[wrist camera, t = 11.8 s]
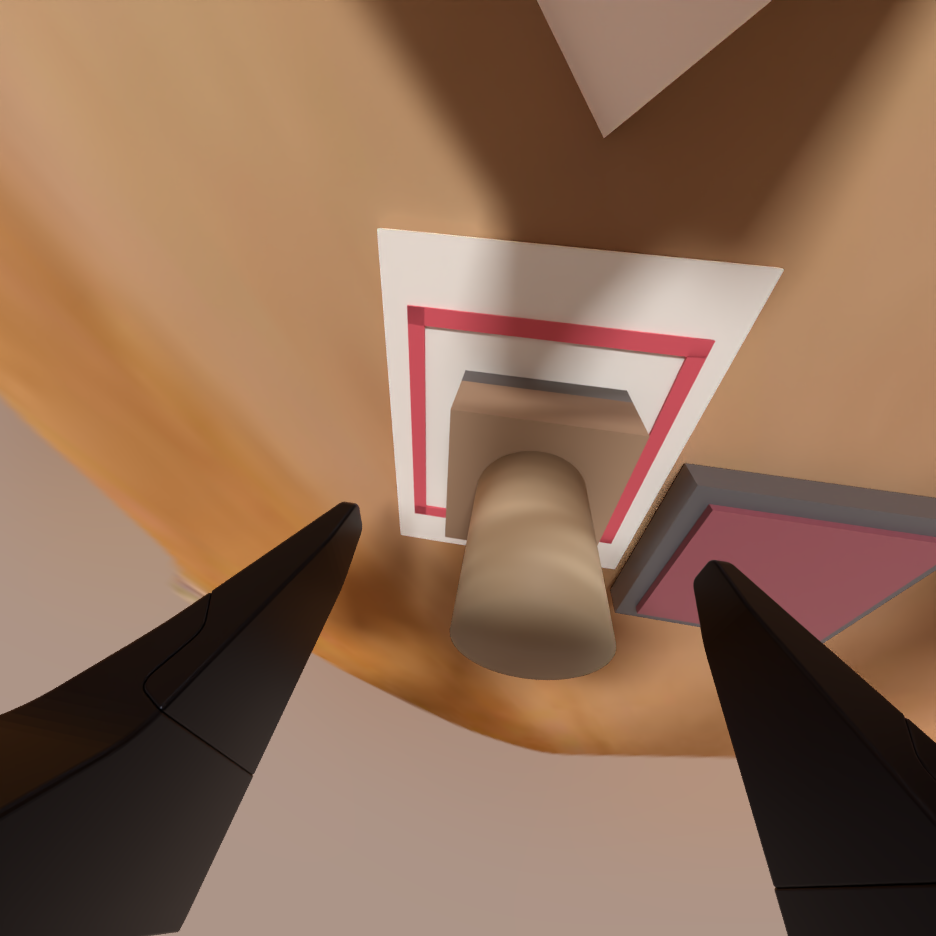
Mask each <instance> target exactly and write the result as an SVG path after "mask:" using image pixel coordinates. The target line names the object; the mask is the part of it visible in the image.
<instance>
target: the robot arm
mask: <svg viewBox="0 0 936 936" xmlns="http://www.w3.org/2000/svg"><path fill="white" fill-rule="evenodd" d="M361 531H362V521H361V515H360V510H359V506H358V505H357V504H355V503H349V502H341V503H339V504H338V505H336V506H335V507H333V508H332V509H331V510H329V511H328V512H326V513H325V514H323V515H322V516H320V517H319V518H317V519H316V520H315V521H313V522H312V523H310V524H309V525H307V526H306V527H304V528H303V529H301V530H300V531H298V532H297V533H296V534H294V535H293V536H291V537H290V538H288V539H287V540H285V541H284V542H282V543H281V544H280V545H278V546H277V547H275V548H274V549H272V550H271V551H269V552H268V553H266V554H265V555H263V556H262V557H261V558H259V559H258V560H256V561H255V562H253V563H252V564H250V565H249V566H247V567H246V568H245V569H243V570H242V571H240V572H239V573H237V574H236V575H234V576H233V577H231V578H230V579H228V580H227V581H226V582H224V583H223V584H221V585H220V586H218V587H217V588H215V589H214V590H213V591H212V593H208V594H206V595H205V596H203V597H202V598H201V599H199V600H198V601H196V602H195V603H193V604H192V605H190V606H189V607H187V608H186V609H184V610H183V611H181V612H180V613H178V614H177V615H175V616H174V617H172V618H171V619H169V620H168V621H166V622H165V623H163V624H161V625H160V626H158V627H157V628H155V629H153V630H152V631H150V632H148V633H147V634H145V635H143V636H142V637H140V638H139V639H137V640H135V641H134V642H132V643H131V644H129V645H127V646H125V647H124V648H122V649H120V650H119V651H117V652H115V653H114V654H112V655H110V656H108V657H107V658H105V659H103V660H102V661H100V662H98V663H97V664H95V665H93V666H92V667H90V668H88V669H87V670H85V671H83V672H82V673H80V674H78V675H77V676H75V677H73V678H72V679H70V680H68V681H66V682H65V683H63V684H61V685H60V686H58V687H56V688H55V689H53V690H51V691H49V692H48V693H46V694H44V695H42V696H40V697H38V698H36V699H35V700H33V701H30V702H28V703H26V704H24V705H22V706H20V707H18V708H15V709H13V710H11V711H9V712H6V713H4V714H1V715H0V936H151V935H159V934H166V933H174V932H178V931H179V930H180V928H181V926H182V924H183V923H184V921H185V919H186V917H187V914H188V912H189V910H190V908H191V906H192V904H193V902H194V900H195V898H196V896H197V894H198V892H199V889H200V887H201V885H202V883H203V881H204V879H205V877H206V875H207V872H208V870H209V868H210V866H211V864H212V862H213V860H214V858H215V856H216V853H217V851H218V849H219V847H220V845H221V843H222V841H223V838H224V837H225V834H226V832H227V830H228V828H229V826H230V824H231V822H232V820H233V817H234V815H235V813H236V811H237V809H238V807H239V805H240V802H241V801H242V799H243V796H244V794H245V792H246V790H247V788H248V786H249V784H250V782H251V779H252V777H253V775H252V774H254V773H255V771H256V768H257V766H258V764H259V762H260V760H261V758H262V756H263V754H264V752H265V749H266V747H267V745H268V743H269V741H270V739H271V736H272V735H273V733H274V730H275V728H276V726H277V724H278V722H279V720H280V718H281V716H282V714H283V711H284V709H285V707H286V705H287V703H288V701H289V699H290V697H291V694H292V692H293V690H294V688H295V686H296V684H297V682H298V680H299V678H300V675H301V673H302V671H303V669H304V667H305V665H306V663H307V660H308V658H309V656H310V654H311V652H312V650H313V648H314V646H315V644H316V642H317V640H318V637H319V635H320V633H321V631H322V629H323V627H324V625H325V623H326V621H327V618H328V616H329V614H330V612H331V610H332V608H333V606H334V604H335V602H336V599H337V597H338V595H339V593H340V591H341V588H342V586H343V584H344V581H345V578H346V576H347V573H348V570H349V567H350V564H351V561H352V558H353V555H354V552H355V549H356V546H357V544H358V541H359V538H360V535H361ZM693 589H694V594H695V600H696V606H697V611H698V617H699V622H700V628H701V634H702V639H703V644H704V648H705V652H706V656H707V659H708V663H709V666H710V669H711V673H712V676H713V680H714V683H715V687H716V690H717V693H718V697H719V700H720V704H721V707H722V711H723V714H724V717H725V721H726V724H727V728H728V731H729V734H730V738H731V741H732V745H733V748H734V752H735V755H736V758H737V762H738V765H739V769H740V772H741V776H742V779H743V782H744V785H745V789H746V793H747V796H748V799H749V802H750V806H751V810H752V813H753V816H754V820H755V823H756V826H757V830H758V833H759V837H760V841H761V844H762V847H763V851H764V854H765V857H766V861H767V864H768V868H769V871H770V875H771V878H772V881H773V885H774V886H775V887H776V888H775V893H776V896H777V900H778V903H779V907H780V910H781V913H782V917H783V920H784V924H785V927H786V931H787V934H788V936H936V743H935V742H934V741H933V740H932V739H931V738H930V737H928V736H927V735H926V734H925V733H924V732H923V731H922V730H920V729H919V728H918V727H917V726H916V725H915V724H914V723H913V722H911V721H910V720H909V719H907V718H905V717H904V715H903V714H902V713H901V712H900V711H899V710H898V709H897V708H895V707H894V706H893V705H892V704H891V703H890V702H889V701H887V700H886V699H885V698H884V697H883V696H882V695H881V694H879V693H878V692H877V691H876V690H875V689H874V688H873V687H872V686H870V685H869V684H868V683H867V682H866V681H865V680H864V679H862V678H861V677H860V676H859V675H858V674H857V673H856V672H855V671H853V670H852V669H851V668H850V667H849V666H848V665H847V664H845V663H844V662H843V661H842V660H841V659H840V658H839V657H838V656H836V655H835V654H834V653H833V652H832V651H831V650H830V649H828V648H827V647H826V646H825V645H824V644H823V643H822V642H820V641H819V640H818V639H817V638H816V637H815V636H814V635H813V634H811V633H810V632H809V631H808V630H807V629H806V628H805V627H803V626H802V625H801V624H800V623H799V622H798V621H797V620H796V619H794V618H793V617H792V616H791V615H790V614H789V613H788V612H786V611H785V610H784V609H783V608H782V607H781V606H780V605H779V604H777V603H776V602H775V601H774V600H773V599H772V598H771V597H769V596H768V595H767V594H766V593H765V592H764V591H763V590H761V589H760V588H759V587H758V586H757V585H756V584H755V583H754V582H752V581H751V580H750V579H749V578H748V577H747V576H746V575H744V574H743V573H742V572H741V571H740V570H739V569H738V568H737V567H735V566H734V565H733V564H731V563H729V562H726V561H720V560H710V561H709V562H708V563H707V564H706V565H705V566H704V567H703V569H702V570H701V571H700V572H699V573H698V575H697V576H696V577H695V579H694V582H693Z"/></svg>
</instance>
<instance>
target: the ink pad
mask: <svg viewBox="0 0 936 936" xmlns="http://www.w3.org/2000/svg"><path fill="white" fill-rule="evenodd" d="M710 560H720V561H726V562H729V563H731V564H733V565H734V566H735V567H737V568H738V569H739V570H740V571H741V572H742V573H743V574H744V575H746V576H747V577H748V578H749V579H750V580H751V581H752V582H754V583H755V584H756V585H757V586H758V587H759V588H760V589H761V590H763V591H764V592H765V593H766V594H767V595H768V596H769V597H771V598H772V599H773V600H774V601H775V602H776V603H777V604H779V605H780V606H781V607H782V608H783V609H784V610H785V611H786V612H788V613H789V614H790V615H791V616H792V617H793V618H794V619H796V620H797V621H798V622H799V623H800V624H801V625H802V626H803V627H805V628H806V629H807V630H808V631H809V632H810V633H811V634H813V635H814V636H815V637H816V638H817V639H818V640H819V641H820V642H822V643H824V642H826V641H827V640H829V639H830V638H832V637H833V636H835V635H837V634H838V633H840V632H841V631H843V630H844V629H846V628H847V627H849V626H850V625H852V624H854V623H855V622H857V621H858V620H860V619H861V618H863V617H864V616H866V615H867V614H869V613H871V612H872V611H874V610H875V609H877V608H878V607H880V606H881V605H883V604H884V603H886V602H887V601H889V600H891V599H892V598H894V597H895V596H897V595H898V594H900V593H901V592H903V591H904V590H906V589H908V588H909V587H911V586H912V585H914V584H915V583H917V582H918V581H920V580H921V579H923V578H925V577H926V576H928V575H929V574H931V573H932V572H934V571H935V570H936V498H932V497H924V496H917V495H910V494H903V493H896V492H888V491H881V490H874V489H867V488H860V487H852V486H845V485H838V484H831V483H824V482H816V481H809V480H802V479H795V478H788V477H780V476H773V475H766V474H759V473H752V472H744V471H737V470H730V469H723V468H716V467H708V466H701V465H694V464H687V463H685V464H684V466H683V467H682V469H681V471H680V472H679V474H678V476H677V478H676V479H675V481H674V483H673V484H672V486H671V488H670V489H669V491H668V493H667V495H666V496H665V498H664V500H663V501H662V503H661V505H660V506H659V508H658V510H657V512H656V513H655V515H654V517H653V518H652V520H651V522H650V523H649V525H648V527H647V529H646V530H645V532H644V534H643V535H642V537H641V539H640V540H639V542H638V544H637V546H636V547H635V549H634V551H633V552H632V554H631V556H630V557H629V559H628V561H627V563H626V564H625V566H624V568H623V569H622V571H621V573H620V574H619V576H618V578H617V580H616V581H615V583H614V585H613V586H612V588H611V590H610V591H611V596H612V601H613V605H614V610H615V613H620V614H626V615H632V616H638V617H644V618H650V619H655V620H661V621H667V622H673V623H679V624H685V625H691V626H697V627H700V622H699V617H698V611H697V606H696V600H695V594H694V589H693V582H694V579H695V577H696V576H697V575H698V573H699V572H700V571H701V570H702V569H703V567H704V566H705V565H706V564H707V563H708V562H709V561H710Z"/></svg>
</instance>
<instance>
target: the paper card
mask: <svg viewBox="0 0 936 936" xmlns="http://www.w3.org/2000/svg"><path fill="white" fill-rule="evenodd" d="M377 235H378V248H379V261H380V273H381V286H382V299H383V312H384V325H385V338H386V351H387V364H388V376H389V389H390V402H391V415H392V428H393V441H394V454H395V467H396V480H397V492H398V505H399V518H400V531H401V535H404V536H411V537H417V538H423V539H429V540H435V541H442V542H448V543H454V544H460V545H466V542H467V540H461V539H455V538H449V537H445V524H446V501H447V478H448V456H449V433H450V410H451V407H452V404H453V402H454V399H455V396H456V394H457V391H458V389H459V386H460V383H461V381H462V378H463V376H464V373H465V370H468V371H476V372H484V373H492V374H500V375H508V376H516V377H524V378H532V379H540V380H548V381H556V382H563V383H571V384H579V385H587V386H595V387H603V388H611V389H619V390H627V392H628V394H629V396H630V398H631V400H632V402H633V404H634V406H635V408H636V410H637V412H638V414H639V416H640V418H641V420H642V422H643V424H644V426H645V428H646V430H647V432H648V434H649V436H650V437H649V439H648V441H647V443H646V445H645V447H644V449H643V451H642V453H641V456H640V458H639V460H638V462H637V464H636V466H635V468H634V470H633V472H632V474H631V476H630V479H629V481H628V483H627V485H626V487H625V489H624V491H623V493H622V495H621V497H620V500H619V502H618V504H617V506H616V508H615V510H614V512H613V514H612V516H611V518H610V520H609V523H608V525H607V527H606V529H605V531H604V533H603V535H602V537H601V539H600V541H599V543H598V546H597V547H598V552H599V557H600V562H601V567H603V568H609V569H615V568H616V566H617V565H618V563H619V561H620V559H621V558H622V556H623V554H624V552H625V551H626V549H627V547H628V545H629V543H630V542H631V540H632V538H633V536H634V535H635V533H636V531H637V529H638V528H639V526H640V524H641V522H642V520H643V519H644V517H645V515H646V513H647V512H648V510H649V508H650V506H651V505H652V503H653V501H654V499H655V497H656V496H657V494H658V492H659V490H660V489H661V487H662V485H663V483H664V481H665V480H666V478H667V476H668V474H669V473H670V471H671V469H672V467H673V466H674V464H675V462H676V460H677V458H678V457H679V455H680V453H681V451H682V450H683V448H684V446H685V444H686V443H687V441H688V439H689V437H690V435H691V434H692V432H693V430H694V428H695V427H696V425H697V423H698V421H699V420H700V418H701V416H702V414H703V412H704V411H705V409H706V407H707V405H708V404H709V402H710V400H711V398H712V396H713V395H714V393H715V391H716V389H717V388H718V386H719V384H720V382H721V381H722V379H723V377H724V375H725V373H726V372H727V370H728V368H729V366H730V365H731V363H732V361H733V359H734V358H735V356H736V354H737V352H738V350H739V349H740V347H741V345H742V343H743V342H744V340H745V338H746V336H747V335H748V333H749V331H750V329H751V327H752V326H753V324H754V322H755V320H756V319H757V317H758V315H759V313H760V311H761V310H762V308H763V306H764V304H765V303H766V301H767V299H768V297H769V296H770V294H771V292H772V290H773V288H774V287H775V285H776V283H777V281H778V280H779V278H780V276H781V274H782V273H783V271H784V269H782V268H778V267H770V266H760V265H750V264H740V263H730V262H720V261H710V260H700V259H690V258H679V257H669V256H659V255H649V254H639V253H629V252H619V251H609V250H599V249H589V248H579V247H569V246H559V245H549V244H539V243H528V242H518V241H508V240H498V239H488V238H478V237H468V236H458V235H448V234H438V233H428V232H418V231H408V230H398V229H388V228H378V229H377Z"/></svg>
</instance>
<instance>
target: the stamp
mask: <svg viewBox="0 0 936 936" xmlns="http://www.w3.org/2000/svg"><path fill="white" fill-rule="evenodd" d="M649 437H650V436H649V434H648V432H647V430H646V428H645V426H644V424H643V422H642V420H641V418H640V416H639V414H638V412H637V410H636V408H635V406H634V404H633V402H632V400H631V398H630V396H629V394H628V392H627V390H619V389H611V388H603V387H595V386H587V385H579V384H571V383H563V382H556V381H548V380H540V379H532V378H524V377H516V376H508V375H500V374H492V373H484V372H476V371H468V370H465V373H464V376H463V378H462V381H461V383H460V386H459V389H458V391H457V394H456V396H455V399H454V402H453V404H452V407H451V410H450V433H449V456H448V478H447V501H446V524H445V537H449V538H455V539H461V540H467V542H466V547H465V552H464V558H463V563H462V568H461V574H460V579H459V584H458V590H457V595H456V600H455V606H454V611H453V616H452V621H451V627H450V637H451V640H452V642H453V644H454V646H455V647H456V648H457V649H458V650H459V651H460V652H461V653H462V654H463V655H464V656H465V657H467V658H468V659H470V660H471V661H473V662H475V663H476V664H478V665H480V666H482V667H485V668H487V669H490V670H492V671H495V672H498V673H502V674H505V675H509V676H514V677H520V678H526V679H536V680H559V679H569V678H575V677H580V676H584V675H587V674H590V673H592V672H595V671H597V670H599V669H601V668H602V667H604V666H605V665H607V664H608V663H609V662H610V661H611V660H612V658H613V656H614V655H615V651H616V641H615V636H614V631H613V625H612V620H611V615H610V610H609V604H608V599H607V594H606V589H605V583H604V578H603V573H602V568H601V562H600V557H599V552H598V547H597V546H598V543H599V541H600V539H601V537H602V535H603V533H604V531H605V529H606V527H607V525H608V523H609V520H610V518H611V516H612V514H613V512H614V510H615V508H616V506H617V504H618V502H619V500H620V497H621V495H622V493H623V491H624V489H625V487H626V485H627V483H628V481H629V479H630V476H631V474H632V472H633V470H634V468H635V466H636V464H637V462H638V460H639V458H640V456H641V453H642V451H643V449H644V447H645V445H646V443H647V441H648V439H649Z"/></svg>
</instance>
